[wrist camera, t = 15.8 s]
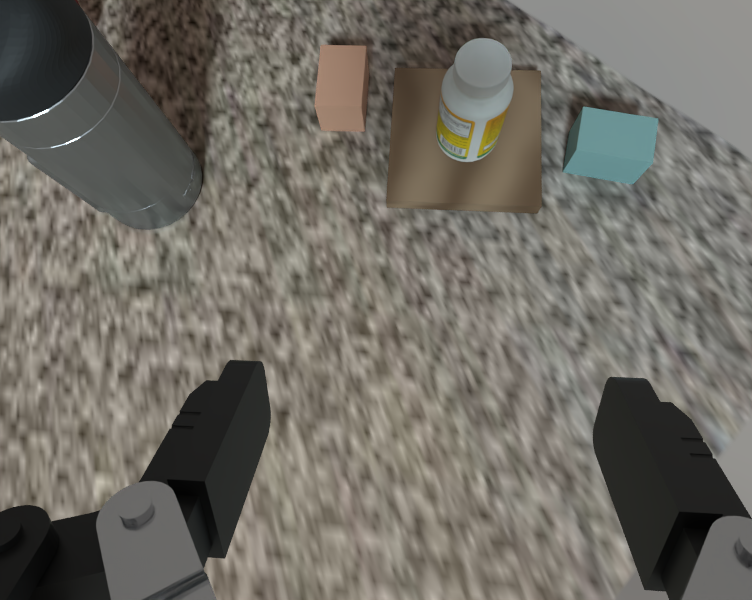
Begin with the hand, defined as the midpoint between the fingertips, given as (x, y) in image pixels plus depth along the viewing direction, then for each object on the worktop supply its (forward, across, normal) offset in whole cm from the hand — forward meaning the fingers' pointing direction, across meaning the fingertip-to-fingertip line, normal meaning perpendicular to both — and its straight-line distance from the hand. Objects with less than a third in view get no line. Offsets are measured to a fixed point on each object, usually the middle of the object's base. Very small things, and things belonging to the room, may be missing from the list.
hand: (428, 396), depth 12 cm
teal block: (+38, -16, +5) cm, 41 cm away
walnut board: (+39, -4, +4) cm, 39 cm away
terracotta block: (+42, +7, +1) cm, 42 cm away
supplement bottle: (+38, -4, +3) cm, 38 cm away
